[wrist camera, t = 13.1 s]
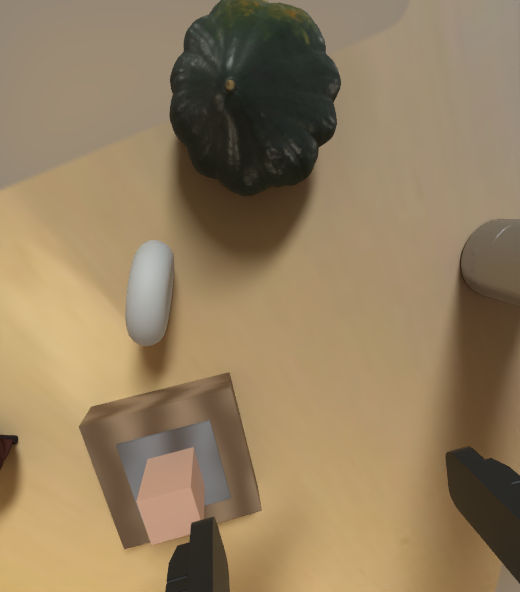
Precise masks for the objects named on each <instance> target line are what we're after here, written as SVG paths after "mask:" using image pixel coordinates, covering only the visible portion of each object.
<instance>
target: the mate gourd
mask: <svg viewBox="0 0 520 592" xmlns="http://www.w3.org/2000/svg"><path fill="white" fill-rule="evenodd" d="M17 441H18V436H14V435H0V470H1V468H2V465H3V462H4V460H5V459H6V457H7V456H8V454H9V451H10V449H11V446H12V444H16V443H17Z"/></svg>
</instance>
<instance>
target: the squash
mask: <svg viewBox="0 0 520 592" xmlns="http://www.w3.org/2000/svg"><path fill="white" fill-rule="evenodd" d="M170 83H171V90H172V93H173V96H172V100H171V106H170V121H171V124H172V127H173V130H174V132H175V134H176V136H177V137H178V139H179V140H180V141H181V142H182V143H183V144H184V145H185V146H186V147H187V149H188V153H189V156H190V159H191V161H192V164H193V166H194V168H195V169H196V171H197V172H199V173H200V174H202V175H204V176H207V177H210V178H214V179H218V180H219V181H220V183H221V184H222V185H224V186H225V187H226V188H228V189H229V190H231V191H232V192H235V193H238V194H240V195H243V196H251V195H254V194H256V193H259V192H262V191H264V190H266V189H267V188H268V187H270V186H275V187H281V186H290V185H295V184H297V183H299V182H301V181H303V180H304V179H306V178H307V177H308V176H309V175H310V174H311V172H312V169H313V167H314V164H315V162H316V159H317V157H318V148H319V147H320V146H322V145H323V144H325V143H326V142H327V141H329V140H330V139H331V138H332V136H333V134H334V132H335V129H336V125H337V119H336V112H335V108H334V104H333V103H334V100H335V98H336V97H337V94H338V92H339V90H340V86H341V79H340V75H339V72H338V69H337V67H336V65H335V63H334V62H333V60H332V59H331V58H330V57H329V56H327V54H326V47H325V41H324V38H323V36H322V34H321V32H320V30H319V28H318V26H317V25H316V24H315V22H314V21H313V20H312V18H311V17H310V16H309V14H308V13H307V12H305V11H304V10H302V9H300V8H296V7H294V6H291V5H287V4H282V3H268V2H267V1H266V0H221V1H220V2H219V3H218V4H217V5H216V6H215V7H214V8H213V10H212V11H211V12H210V14H209V15H207V16H204V17H201V18H199V19H197V20H196V21H194V22H193V23H192V25H191V26H190V27H189V29H188V30H187V32H186V34H185V39H184V52H183V53H182V54H181V55H180V56H179V57H178V59H177V61H176V62H175V64H174V67H173V69H172V73H171V77H170Z"/></svg>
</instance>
